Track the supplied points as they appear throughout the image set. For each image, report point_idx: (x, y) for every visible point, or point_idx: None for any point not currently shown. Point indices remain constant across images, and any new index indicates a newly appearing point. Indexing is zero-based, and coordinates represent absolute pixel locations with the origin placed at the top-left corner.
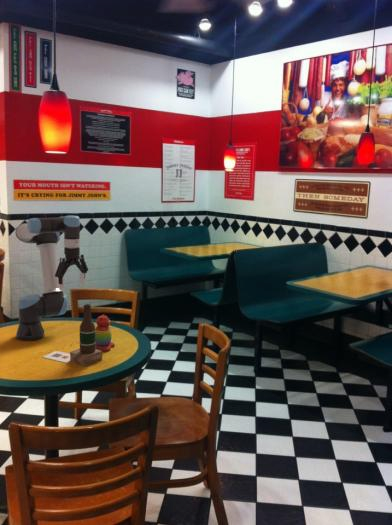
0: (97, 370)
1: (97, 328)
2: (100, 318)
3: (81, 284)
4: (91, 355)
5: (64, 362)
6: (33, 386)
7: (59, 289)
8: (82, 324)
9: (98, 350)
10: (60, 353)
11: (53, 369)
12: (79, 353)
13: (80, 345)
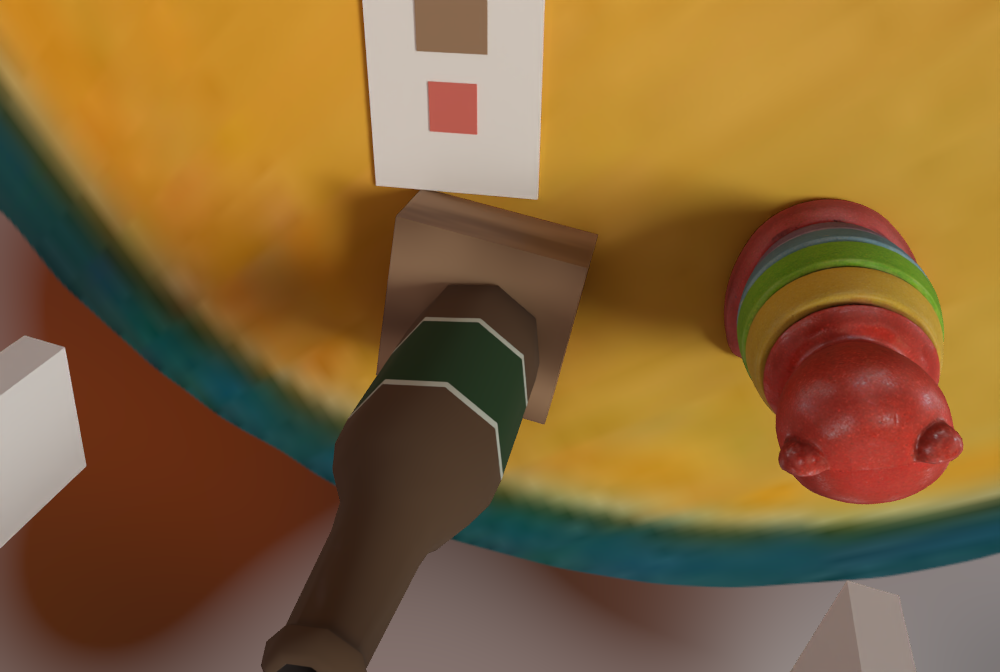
0: None
1: (780, 351)
2: (784, 465)
3: (813, 657)
4: None
5: (375, 164)
6: (7, 211)
7: (18, 342)
8: (334, 477)
9: (539, 398)
10: (507, 9)
11: (239, 166)
12: (410, 301)
13: (412, 327)
